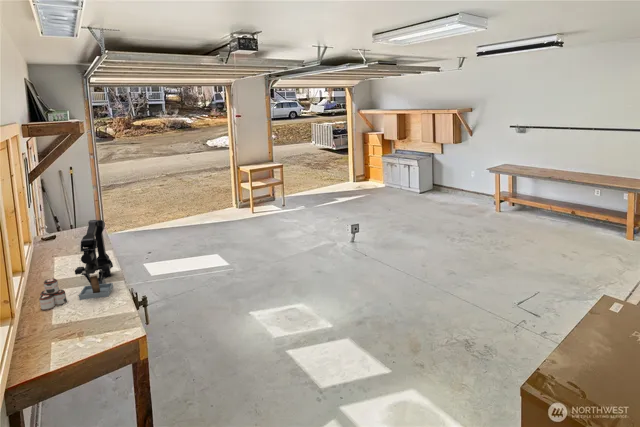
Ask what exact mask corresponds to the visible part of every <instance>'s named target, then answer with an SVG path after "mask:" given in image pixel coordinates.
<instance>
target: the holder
mask: <svg viewBox="0 0 640 427" xmlns="http://www.w3.org/2000/svg"><path fill="white" fill-rule="evenodd" d="M98 282H99V277H98ZM89 284H90V285H91V283H89ZM99 284H106V279H105V277H102V278H101V282H99ZM90 285H89V286H90Z"/></svg>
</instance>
